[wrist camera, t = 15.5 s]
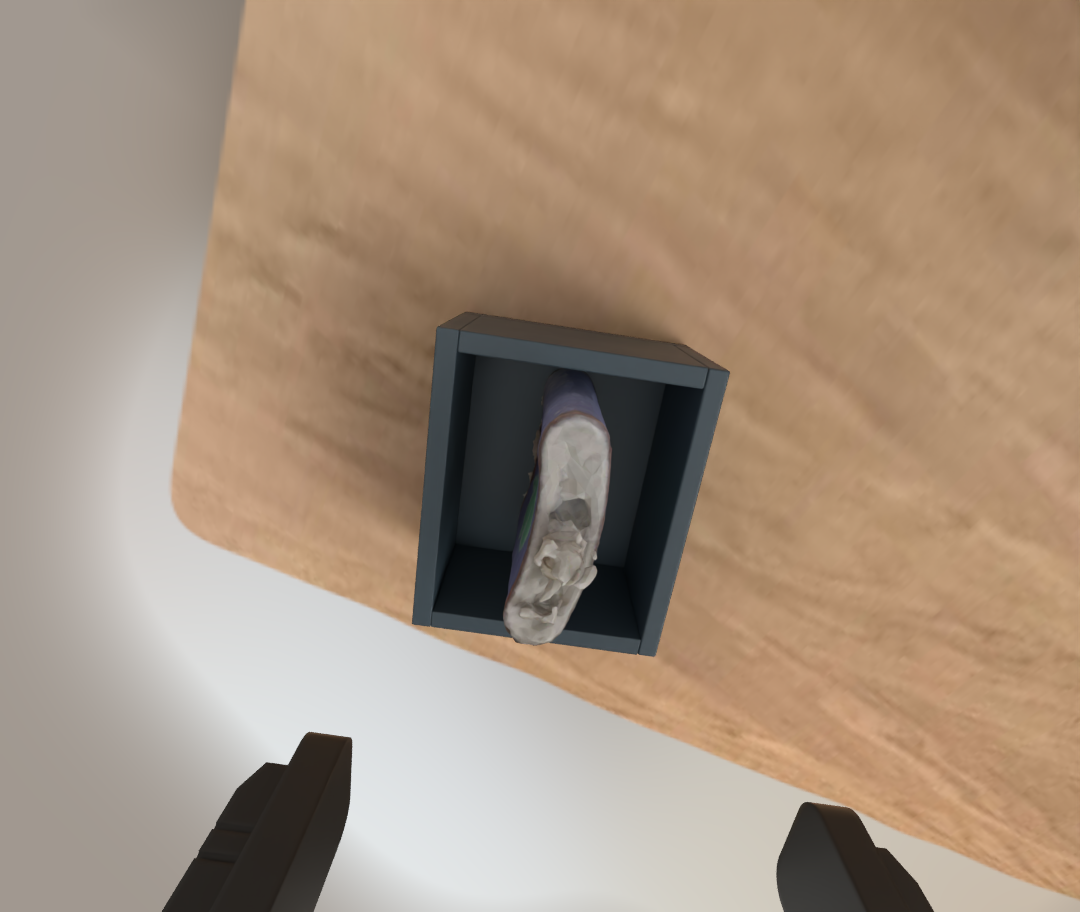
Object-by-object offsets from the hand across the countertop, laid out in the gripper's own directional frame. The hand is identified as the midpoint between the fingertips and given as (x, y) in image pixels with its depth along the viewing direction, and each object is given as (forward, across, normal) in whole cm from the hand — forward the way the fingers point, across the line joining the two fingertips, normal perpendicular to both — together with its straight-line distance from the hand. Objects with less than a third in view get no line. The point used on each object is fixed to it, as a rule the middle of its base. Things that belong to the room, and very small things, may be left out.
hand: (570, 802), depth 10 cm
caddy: (+19, 0, 0) cm, 19 cm away
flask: (+19, 0, 0) cm, 19 cm away
